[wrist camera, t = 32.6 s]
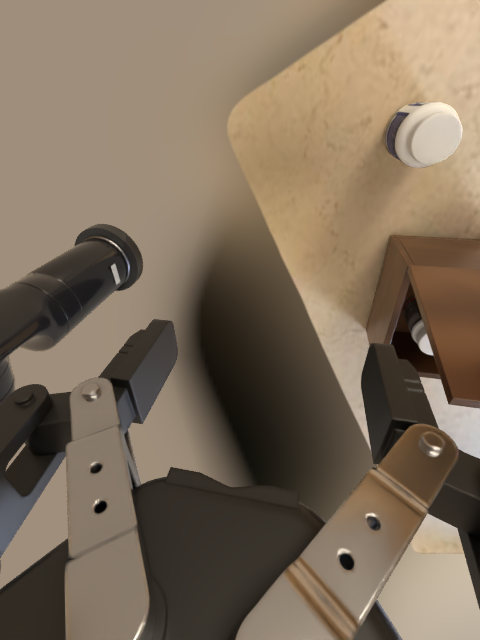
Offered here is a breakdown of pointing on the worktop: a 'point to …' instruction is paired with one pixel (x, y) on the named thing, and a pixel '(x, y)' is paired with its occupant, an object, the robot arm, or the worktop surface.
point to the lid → (452, 327)
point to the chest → (398, 289)
